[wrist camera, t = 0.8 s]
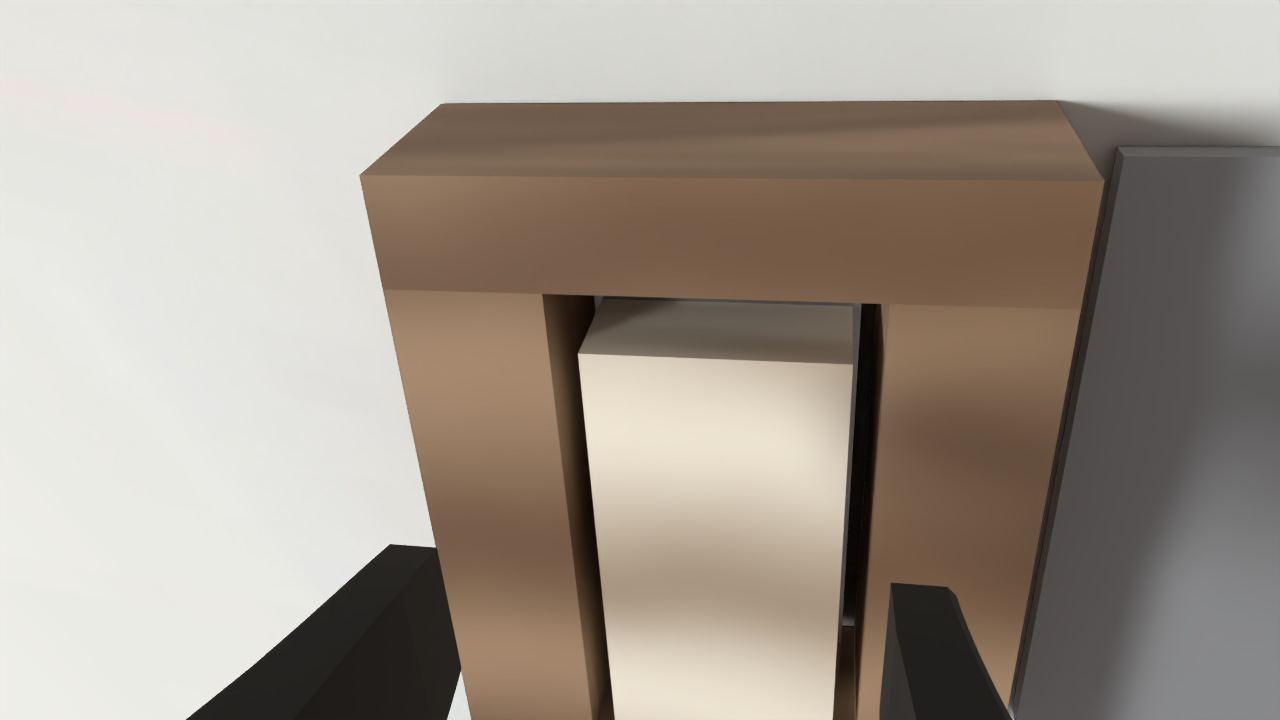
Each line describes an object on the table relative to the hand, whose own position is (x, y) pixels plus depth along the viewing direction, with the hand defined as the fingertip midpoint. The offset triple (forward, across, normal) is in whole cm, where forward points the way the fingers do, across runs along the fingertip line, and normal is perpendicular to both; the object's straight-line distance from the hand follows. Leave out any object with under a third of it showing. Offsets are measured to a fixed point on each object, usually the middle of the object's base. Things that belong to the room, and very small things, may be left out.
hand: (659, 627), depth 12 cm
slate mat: (+9, -10, +4) cm, 15 cm away
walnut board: (+9, 0, +4) cm, 10 cm away
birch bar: (+8, 0, +4) cm, 9 cm away
